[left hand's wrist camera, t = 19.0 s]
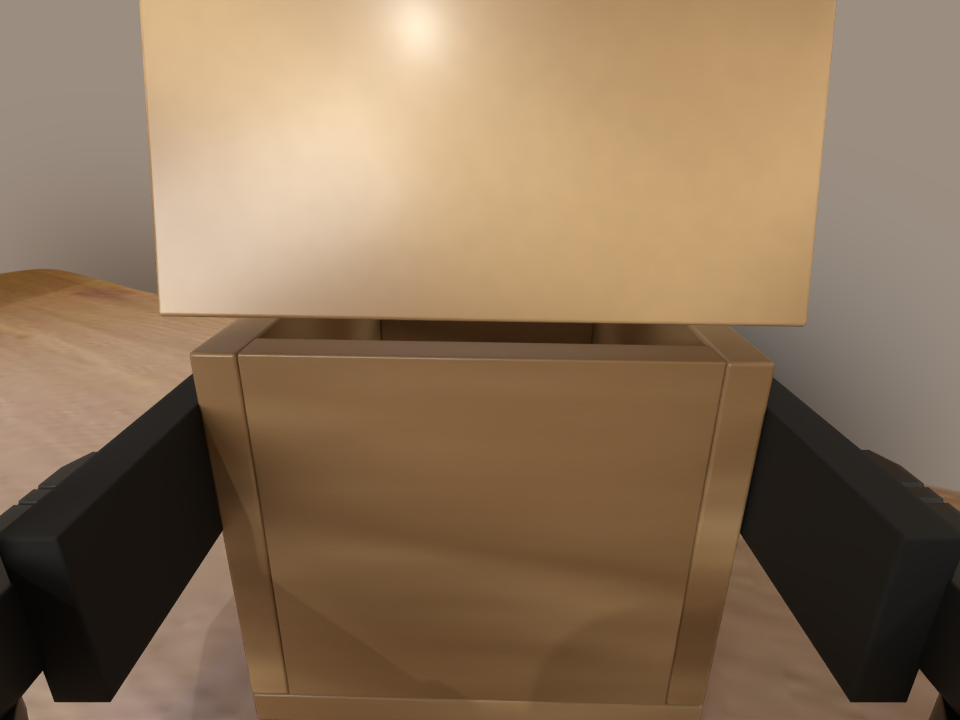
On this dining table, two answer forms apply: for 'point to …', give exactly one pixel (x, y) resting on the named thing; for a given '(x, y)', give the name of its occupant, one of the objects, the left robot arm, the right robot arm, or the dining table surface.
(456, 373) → the chest
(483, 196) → the lid
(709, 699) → the dining table surface
